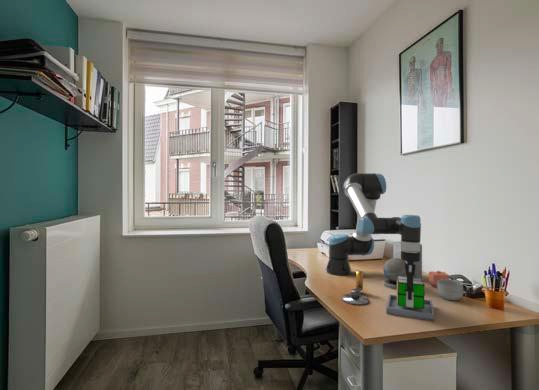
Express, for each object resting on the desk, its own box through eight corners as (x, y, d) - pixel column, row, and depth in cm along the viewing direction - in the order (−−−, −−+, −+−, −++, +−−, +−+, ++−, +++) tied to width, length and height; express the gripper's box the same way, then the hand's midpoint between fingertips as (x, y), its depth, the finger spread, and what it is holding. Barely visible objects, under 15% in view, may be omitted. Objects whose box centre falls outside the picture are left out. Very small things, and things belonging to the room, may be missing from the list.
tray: (389, 299, 142) (389, 294, 142) (431, 306, 134) (431, 300, 134) (386, 313, 126) (386, 307, 126) (434, 321, 118) (434, 314, 118)
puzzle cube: (421, 300, 133) (421, 278, 133) (424, 309, 124) (424, 284, 123) (396, 297, 136) (396, 275, 136) (397, 305, 127) (398, 282, 127)
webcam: (411, 290, 155) (412, 261, 155) (385, 288, 158) (385, 260, 158) (405, 283, 168) (406, 256, 168) (381, 281, 170) (381, 255, 170)
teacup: (454, 304, 137) (454, 286, 137) (431, 296, 146) (431, 280, 146) (471, 299, 143) (472, 282, 143) (449, 292, 153) (449, 276, 153)
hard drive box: (422, 279, 176) (422, 244, 175) (412, 280, 173) (412, 245, 173) (401, 272, 190) (402, 240, 190) (392, 273, 187) (392, 241, 187)
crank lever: (359, 299, 138) (359, 279, 138) (350, 297, 140) (350, 278, 140) (364, 289, 152) (364, 271, 152) (355, 288, 154) (356, 270, 154)
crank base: (344, 294, 149) (344, 292, 149) (370, 298, 144) (370, 295, 144) (339, 302, 138) (339, 299, 138) (367, 306, 133) (367, 304, 133)
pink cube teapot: (436, 290, 156) (436, 274, 156) (427, 283, 168) (427, 268, 168) (452, 290, 155) (452, 274, 155) (442, 283, 167) (442, 268, 167)
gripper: (420, 257, 118) (420, 313, 118) (419, 247, 138) (418, 295, 139) (399, 255, 121) (399, 310, 121) (401, 246, 142) (401, 293, 142)
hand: (409, 302), depth 130 cm, fingers closed on puzzle cube, 10 cm apart
